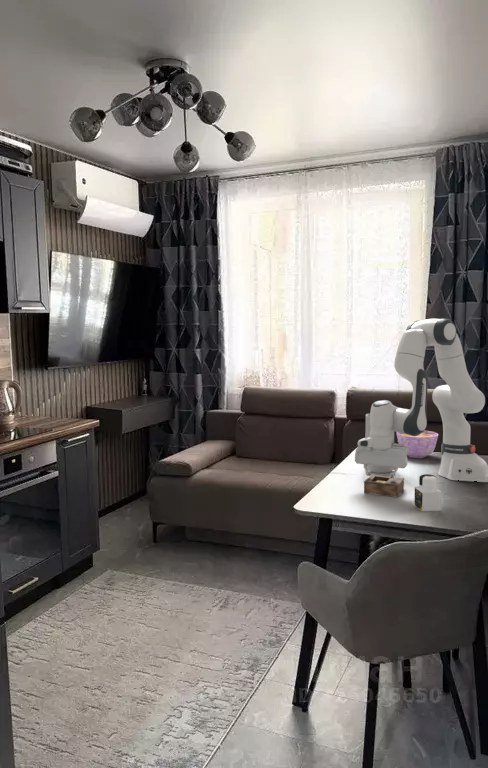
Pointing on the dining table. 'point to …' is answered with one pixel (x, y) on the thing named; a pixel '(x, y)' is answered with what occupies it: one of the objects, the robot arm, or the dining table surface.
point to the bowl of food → (418, 443)
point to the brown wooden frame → (384, 486)
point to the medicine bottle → (427, 494)
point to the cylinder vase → (372, 467)
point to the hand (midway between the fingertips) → (380, 476)
